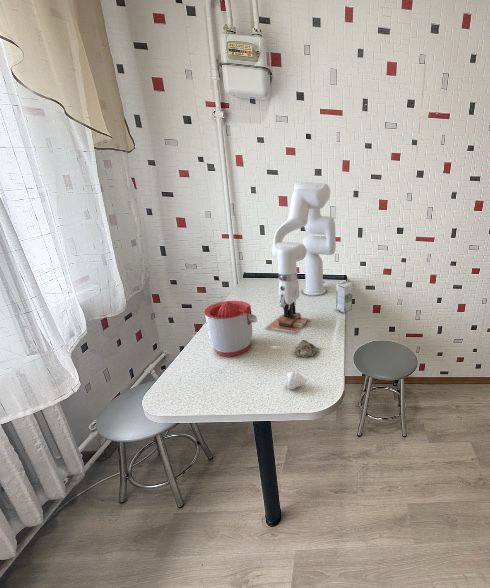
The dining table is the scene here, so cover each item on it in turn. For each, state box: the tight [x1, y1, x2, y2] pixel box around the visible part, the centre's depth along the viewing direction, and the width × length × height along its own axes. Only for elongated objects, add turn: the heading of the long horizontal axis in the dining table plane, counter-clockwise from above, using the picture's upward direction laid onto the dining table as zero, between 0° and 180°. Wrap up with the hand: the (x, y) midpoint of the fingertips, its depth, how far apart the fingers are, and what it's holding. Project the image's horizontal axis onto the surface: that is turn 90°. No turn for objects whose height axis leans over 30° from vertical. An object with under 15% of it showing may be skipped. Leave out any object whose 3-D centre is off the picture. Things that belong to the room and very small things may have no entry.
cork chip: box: [293, 320, 307, 328], centre depth 145 cm, size 4×4×2 cm
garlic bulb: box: [286, 371, 308, 390], centre depth 106 cm, size 6×6×5 cm
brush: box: [279, 303, 302, 328], centre depth 145 cm, size 9×6×9 cm, turn 166°
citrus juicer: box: [203, 300, 258, 357], centre depth 123 cm, size 16×17×20 cm
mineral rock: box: [295, 339, 318, 358], centre depth 127 cm, size 11×4×8 cm
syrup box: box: [335, 280, 354, 314], centre depth 162 cm, size 6×6×14 cm
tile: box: [267, 314, 309, 332], centre depth 147 cm, size 13×13×1 cm
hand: (289, 315), depth 146 cm, fingers closed on brush, 3 cm apart
